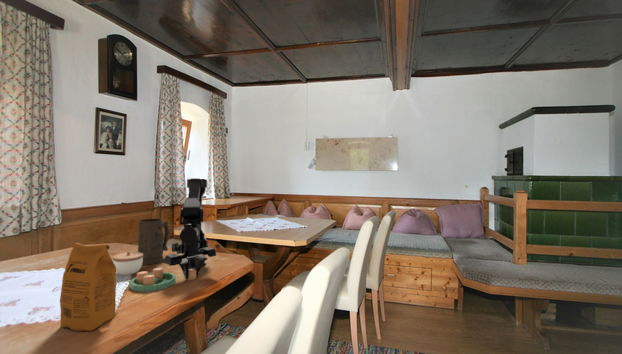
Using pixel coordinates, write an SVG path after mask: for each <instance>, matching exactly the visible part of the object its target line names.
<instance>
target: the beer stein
mask: <svg viewBox="0 0 622 354" xmlns="http://www.w3.org/2000/svg"><path fill="white" fill-rule="evenodd" d="M163 228H164V232H163ZM137 237H138V239H137V240H138V242H137V245H138V247H137V252H141V253H143V264H142V265H153V264H154V265H155V264H158V263H161V262H164V255H163V254H164V251H165V252H168V250H169V249H168V246H167V245H168V241H169V239H170V227H169V221H167V220H164V221H163V219H162V218H146V219H145V218H144V219H140V220H138V236H137Z"/></svg>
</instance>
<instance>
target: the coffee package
mask: <svg viewBox="0 0 622 354" xmlns="http://www.w3.org/2000/svg"><path fill="white" fill-rule="evenodd" d="M109 250H110V245H108V244H98V245H97V244H96V245H84V244H82V243H79V242H77V241H76V242H74V245H73V246H72V250H71V252H70V254H69V257H68V260H67V262H66V266H65V269H64V272H63V275H62V280H61V281H62V282H61V289H60V298H59V305H60V326H59V327H60V328H70V329H71V330H73V331H75V332H85V331H86V332H87V331H88V332H92V331H94V330H96V329H97V328H98V327H100V326H101V325H103V324H104V323H106V322H108V321H110V320H112V319H114V317H115V316H116V315H117V313H116V305H117V304H116V302H117V301H116V296H117V291H116V289H117V272H116V267H115V264H114V263H113V258H112V257H111V255H110V254H109V252H108V251H109Z"/></svg>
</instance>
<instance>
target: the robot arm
mask: <svg viewBox="0 0 622 354" xmlns="http://www.w3.org/2000/svg"><path fill="white" fill-rule="evenodd" d="M186 188H187V189H188V195H187V200H186V201H185V202H183V204H182V208H181V209H180V213H179V214H180V215H179V225H182V226H183V228H182V229H181V230H180V233H179V239H180V241H181V243H180V244H179V243H178V242H174V243H172V244H171V252H172V253H171V254H166V255H165V256H164V257H163V263H164V264H166V265H168V266H179V267H180V269H181V271H182V273H183V276H184V279H185V280H187V279H188V273H189V269H190V267H191V268H194V269H196V278H197V277H198V275H199V273H200V271H201V269H202V267H203V266H205V265H207V263H206V261H207V260H208V257H209V258H212V257H216V256H217V250H216V249H215V248H213V247H211V246H210V247H209V245H208V243H209V242H208V240H207V238H206V235H205V233H204V231H203V229H202V223H203V222H204V214H205V213H204V212H205V211H204V209H203V197H204V195H205V194H206V190H207V189H208V180H207V179H205V177H189V178H187V179H186ZM206 256H208V257H206Z"/></svg>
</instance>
